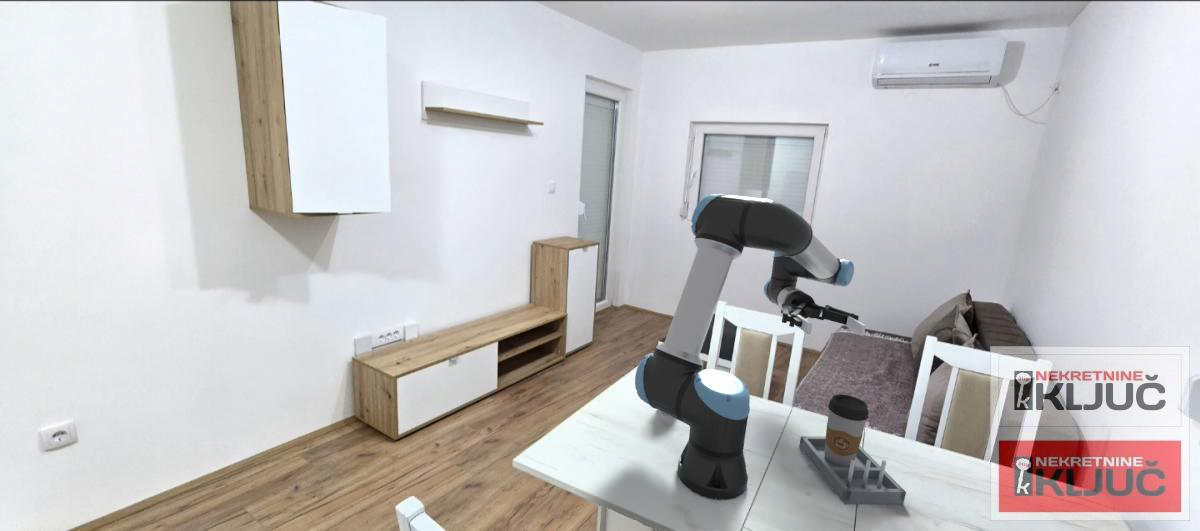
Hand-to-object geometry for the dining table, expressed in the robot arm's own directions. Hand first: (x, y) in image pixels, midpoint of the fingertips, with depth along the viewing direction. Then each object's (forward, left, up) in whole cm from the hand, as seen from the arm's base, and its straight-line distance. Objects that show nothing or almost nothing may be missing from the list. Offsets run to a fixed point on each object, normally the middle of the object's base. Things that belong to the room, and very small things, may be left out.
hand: (837, 329), depth 115 cm
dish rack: (+11, -8, -30) cm, 33 cm away
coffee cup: (+8, -6, -29) cm, 31 cm away
